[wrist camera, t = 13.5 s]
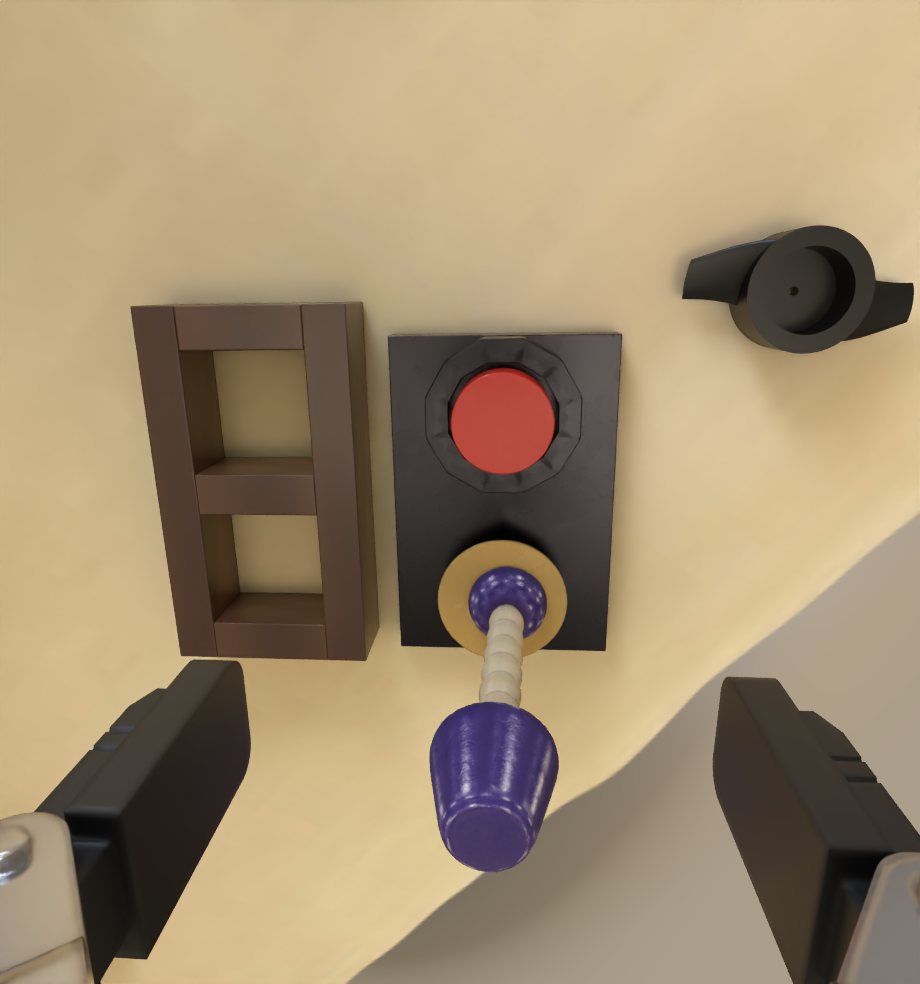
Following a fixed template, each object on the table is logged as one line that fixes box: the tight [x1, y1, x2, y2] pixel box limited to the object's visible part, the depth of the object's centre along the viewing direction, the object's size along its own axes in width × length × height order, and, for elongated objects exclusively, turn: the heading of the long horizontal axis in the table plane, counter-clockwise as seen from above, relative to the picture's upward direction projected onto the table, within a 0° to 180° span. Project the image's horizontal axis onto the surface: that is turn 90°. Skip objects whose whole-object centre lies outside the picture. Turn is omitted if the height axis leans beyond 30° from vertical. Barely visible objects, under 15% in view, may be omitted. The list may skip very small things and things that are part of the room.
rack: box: [131, 302, 379, 661], centre depth 38 cm, size 11×19×4 cm, turn 1°
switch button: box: [451, 368, 555, 474], centre depth 34 cm, size 5×5×2 cm
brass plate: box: [438, 540, 567, 657], centre depth 37 cm, size 7×7×1 cm
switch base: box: [388, 332, 622, 651], centre depth 38 cm, size 18×12×4 cm, turn 0°
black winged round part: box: [682, 226, 914, 353], centre depth 34 cm, size 8×10×3 cm
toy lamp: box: [430, 567, 559, 872], centre depth 29 cm, size 5×5×17 cm
